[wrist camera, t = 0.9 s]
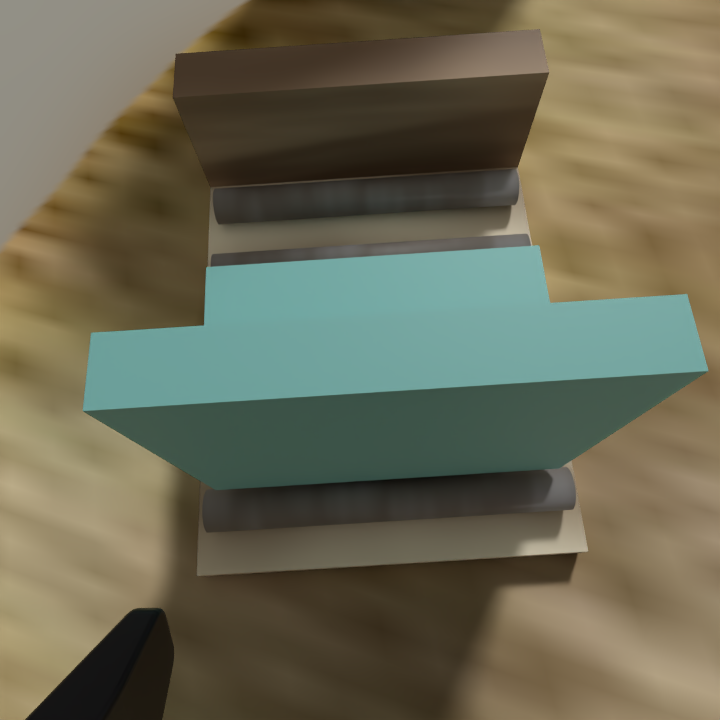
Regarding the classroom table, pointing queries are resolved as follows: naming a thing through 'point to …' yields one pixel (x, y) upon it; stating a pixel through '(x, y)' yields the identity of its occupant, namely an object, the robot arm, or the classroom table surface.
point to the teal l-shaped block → (389, 370)
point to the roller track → (363, 239)
